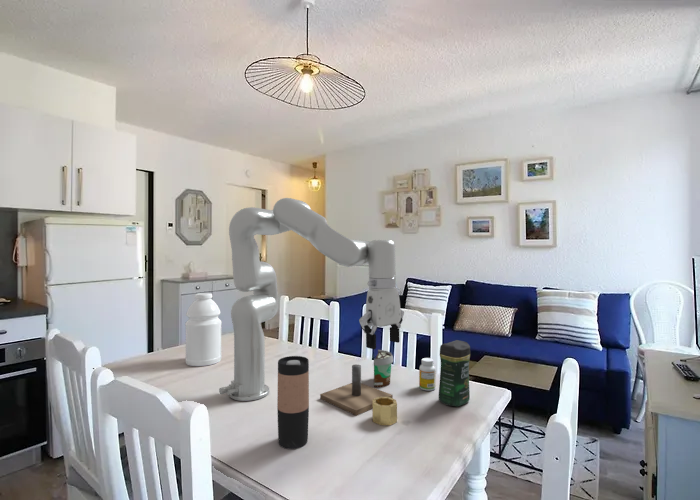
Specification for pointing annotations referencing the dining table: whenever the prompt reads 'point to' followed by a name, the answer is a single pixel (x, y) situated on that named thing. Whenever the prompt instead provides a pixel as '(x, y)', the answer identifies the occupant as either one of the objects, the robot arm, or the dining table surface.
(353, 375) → the post stand
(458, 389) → the coffee jar
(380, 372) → the food container
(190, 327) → the bottle
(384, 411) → the brass collar
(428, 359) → the supplement bottle
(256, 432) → the dining table surface
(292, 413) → the travel mug
